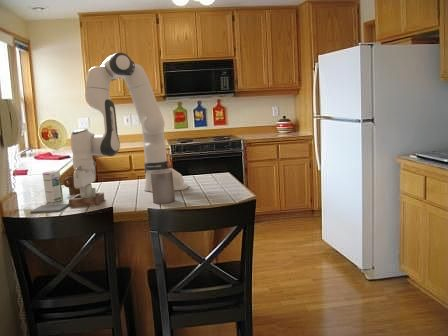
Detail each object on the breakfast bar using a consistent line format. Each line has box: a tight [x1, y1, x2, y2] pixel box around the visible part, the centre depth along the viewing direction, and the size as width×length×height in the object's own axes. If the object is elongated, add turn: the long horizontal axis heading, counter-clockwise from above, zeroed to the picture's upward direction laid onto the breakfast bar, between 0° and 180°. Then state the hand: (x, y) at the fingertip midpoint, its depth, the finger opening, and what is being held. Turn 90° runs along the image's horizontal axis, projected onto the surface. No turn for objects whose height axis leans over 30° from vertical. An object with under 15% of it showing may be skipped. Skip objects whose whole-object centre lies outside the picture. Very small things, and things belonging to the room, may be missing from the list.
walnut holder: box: [68, 192, 105, 208], centre depth 228 cm, size 12×12×4 cm
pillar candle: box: [151, 169, 176, 205], centre depth 220 cm, size 10×10×15 cm
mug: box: [62, 174, 80, 195], centre depth 255 cm, size 12×8×9 cm, turn 153°
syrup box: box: [42, 170, 64, 203], centre depth 239 cm, size 6×6×14 cm
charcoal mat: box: [29, 203, 70, 214], centre depth 221 cm, size 13×12×1 cm
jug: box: [80, 183, 97, 198], centre depth 228 cm, size 7×5×8 cm
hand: (86, 194), depth 228 cm, fingers closed on jug, 5 cm apart
